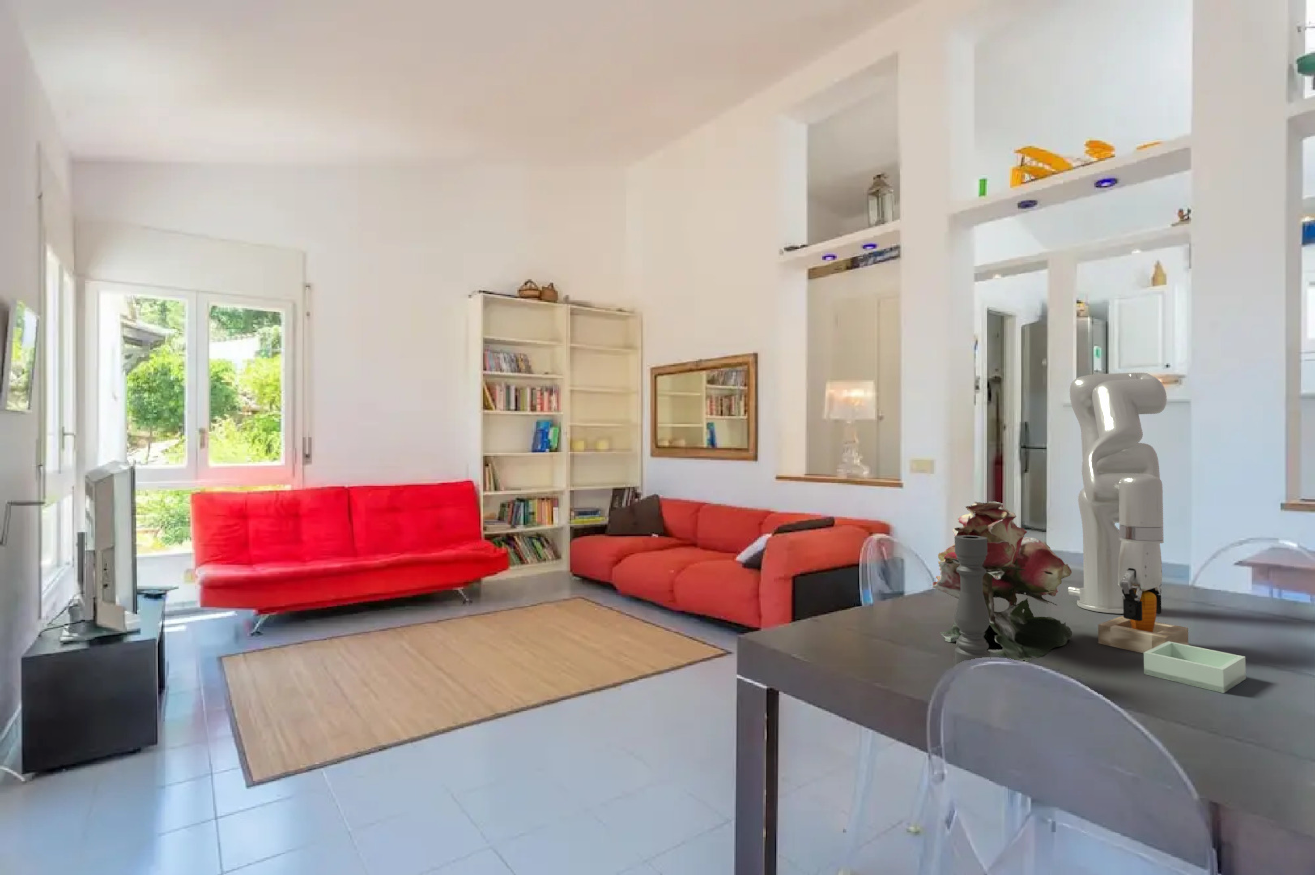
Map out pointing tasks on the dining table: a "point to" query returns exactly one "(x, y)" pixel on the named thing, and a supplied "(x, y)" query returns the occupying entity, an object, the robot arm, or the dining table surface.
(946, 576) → the rose bouquet
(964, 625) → the candle holder
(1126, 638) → the wooden stand
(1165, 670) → the tray
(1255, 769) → the dining table surface
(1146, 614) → the carrot
